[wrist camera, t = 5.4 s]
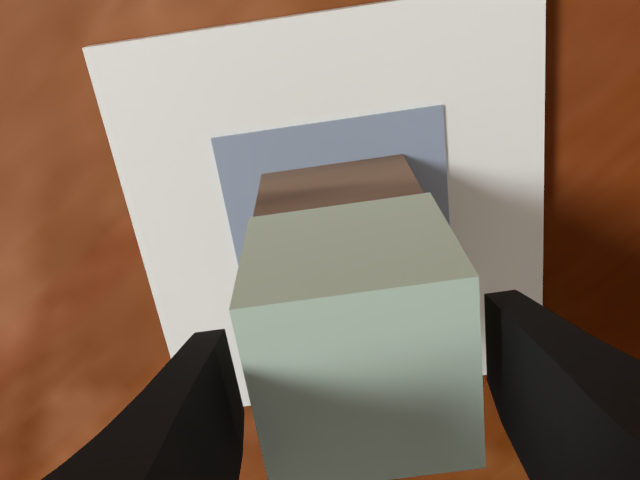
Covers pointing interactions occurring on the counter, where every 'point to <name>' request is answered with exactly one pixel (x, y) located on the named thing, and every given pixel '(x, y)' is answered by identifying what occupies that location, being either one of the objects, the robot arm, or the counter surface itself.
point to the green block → (361, 342)
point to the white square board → (327, 134)
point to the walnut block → (335, 185)
